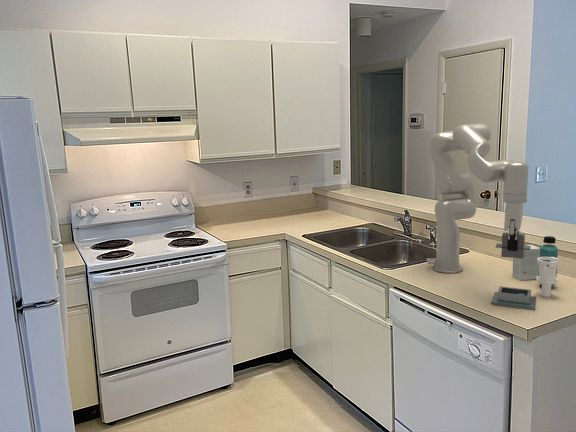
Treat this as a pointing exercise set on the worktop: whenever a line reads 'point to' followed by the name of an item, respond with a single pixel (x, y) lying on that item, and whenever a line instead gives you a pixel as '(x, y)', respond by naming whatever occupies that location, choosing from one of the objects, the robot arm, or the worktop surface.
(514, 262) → the small box
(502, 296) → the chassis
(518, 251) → the lever
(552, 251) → the beverage bottle
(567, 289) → the worktop surface
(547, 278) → the clear white hollow cylinder
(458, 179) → the robot arm
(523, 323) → the worktop surface
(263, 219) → the worktop surface
